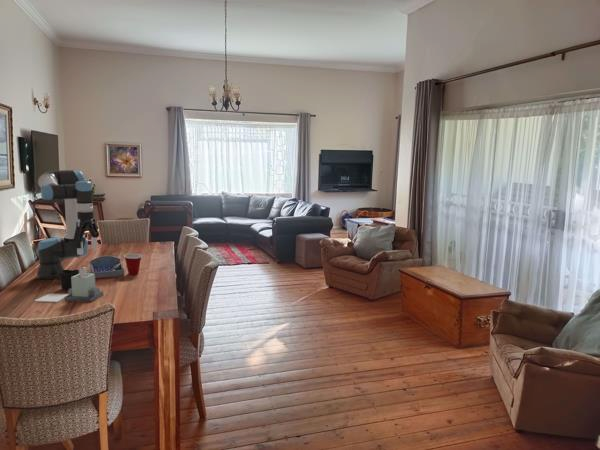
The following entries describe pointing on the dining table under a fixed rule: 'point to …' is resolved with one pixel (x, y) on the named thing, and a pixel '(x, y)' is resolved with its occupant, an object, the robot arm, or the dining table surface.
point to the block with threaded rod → (94, 295)
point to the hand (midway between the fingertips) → (87, 251)
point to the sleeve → (83, 285)
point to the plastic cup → (133, 263)
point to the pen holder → (67, 278)
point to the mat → (51, 298)
